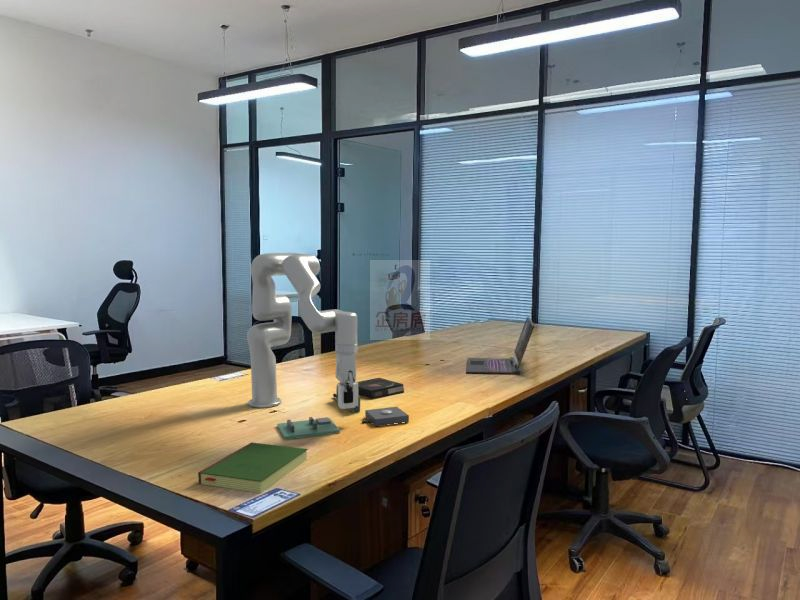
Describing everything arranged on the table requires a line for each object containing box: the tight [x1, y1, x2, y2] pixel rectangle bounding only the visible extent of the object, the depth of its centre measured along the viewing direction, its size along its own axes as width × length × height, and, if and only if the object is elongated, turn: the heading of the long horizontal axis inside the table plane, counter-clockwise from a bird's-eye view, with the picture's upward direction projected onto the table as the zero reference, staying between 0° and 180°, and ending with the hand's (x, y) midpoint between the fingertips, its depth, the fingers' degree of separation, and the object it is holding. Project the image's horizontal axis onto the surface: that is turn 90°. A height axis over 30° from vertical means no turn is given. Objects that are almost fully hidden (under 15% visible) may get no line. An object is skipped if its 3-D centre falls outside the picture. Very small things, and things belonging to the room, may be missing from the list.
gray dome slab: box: [361, 406, 410, 427], centre depth 205 cm, size 12×15×3 cm
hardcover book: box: [197, 442, 308, 494], centre depth 159 cm, size 25×19×4 cm
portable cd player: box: [354, 377, 405, 400], centre depth 245 cm, size 16×17×4 cm
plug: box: [337, 382, 358, 410], centre depth 200 cm, size 4×6×8 cm, turn 111°
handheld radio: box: [332, 384, 361, 414], centre depth 226 cm, size 7×3×25 cm
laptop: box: [466, 316, 535, 376], centre depth 292 cm, size 35×32×24 cm
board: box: [277, 416, 341, 441], centre depth 196 cm, size 15×18×3 cm
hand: (346, 400), depth 200 cm, fingers closed on plug, 4 cm apart
